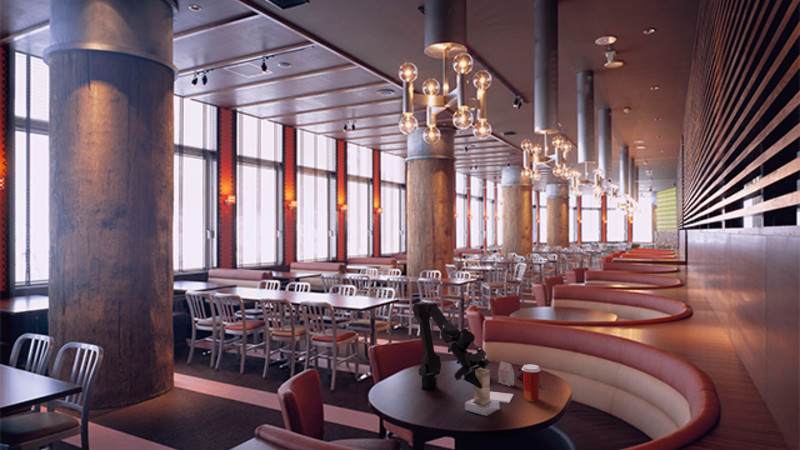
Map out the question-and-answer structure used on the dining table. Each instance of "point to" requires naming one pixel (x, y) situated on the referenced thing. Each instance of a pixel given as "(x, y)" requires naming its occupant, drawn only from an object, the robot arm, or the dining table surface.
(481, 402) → the wooden peg
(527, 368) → the paper cup
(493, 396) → the tile
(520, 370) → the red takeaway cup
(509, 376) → the white printed carton
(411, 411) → the dining table surface
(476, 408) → the socket
